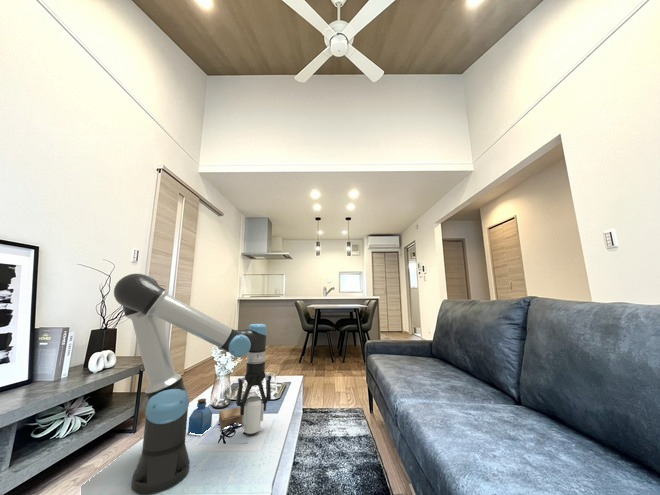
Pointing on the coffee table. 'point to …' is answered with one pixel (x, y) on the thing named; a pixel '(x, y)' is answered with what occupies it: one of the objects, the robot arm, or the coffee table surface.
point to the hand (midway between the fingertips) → (252, 421)
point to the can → (252, 415)
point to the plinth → (230, 417)
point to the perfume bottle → (200, 418)
